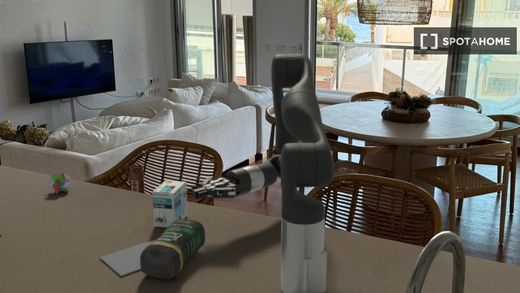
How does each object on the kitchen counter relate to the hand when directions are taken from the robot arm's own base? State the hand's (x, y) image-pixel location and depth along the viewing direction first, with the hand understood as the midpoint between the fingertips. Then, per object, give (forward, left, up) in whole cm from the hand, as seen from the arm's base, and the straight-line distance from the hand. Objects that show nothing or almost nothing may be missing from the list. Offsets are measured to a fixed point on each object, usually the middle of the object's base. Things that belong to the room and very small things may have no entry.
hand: (193, 194), depth 133 cm
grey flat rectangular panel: (+1, +15, -13) cm, 20 cm away
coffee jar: (-2, +3, -8) cm, 9 cm away
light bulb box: (+16, -2, -13) cm, 21 cm away
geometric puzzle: (+62, +14, -13) cm, 65 cm away
